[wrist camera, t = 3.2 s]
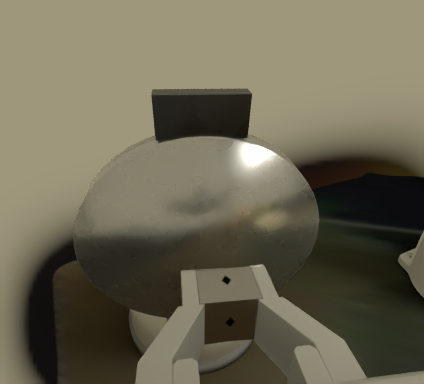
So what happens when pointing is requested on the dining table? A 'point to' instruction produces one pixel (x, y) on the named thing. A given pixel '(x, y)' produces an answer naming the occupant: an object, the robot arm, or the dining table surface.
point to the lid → (193, 204)
